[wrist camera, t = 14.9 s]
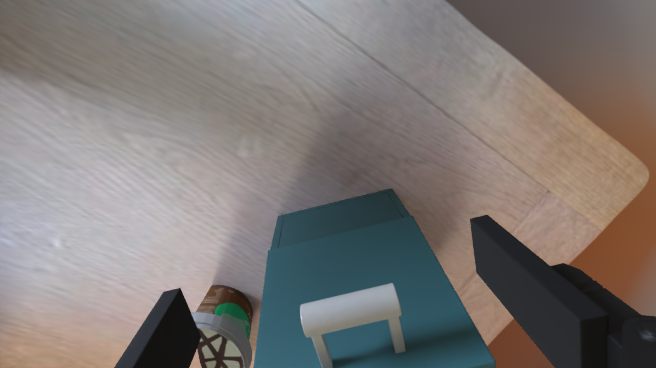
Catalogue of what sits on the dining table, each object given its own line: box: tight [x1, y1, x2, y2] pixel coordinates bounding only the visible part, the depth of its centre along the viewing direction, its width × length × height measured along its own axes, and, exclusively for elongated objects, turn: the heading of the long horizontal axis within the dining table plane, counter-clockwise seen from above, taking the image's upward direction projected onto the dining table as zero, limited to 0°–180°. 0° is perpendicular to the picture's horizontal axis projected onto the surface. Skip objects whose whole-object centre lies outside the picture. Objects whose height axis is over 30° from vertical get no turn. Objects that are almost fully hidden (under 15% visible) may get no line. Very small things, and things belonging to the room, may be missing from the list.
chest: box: [270, 189, 411, 250], centre depth 46 cm, size 17×16×10 cm
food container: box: [191, 285, 253, 368], centre depth 48 cm, size 12×6×10 cm, turn 7°
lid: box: [254, 216, 496, 368], centre depth 29 cm, size 18×16×6 cm
